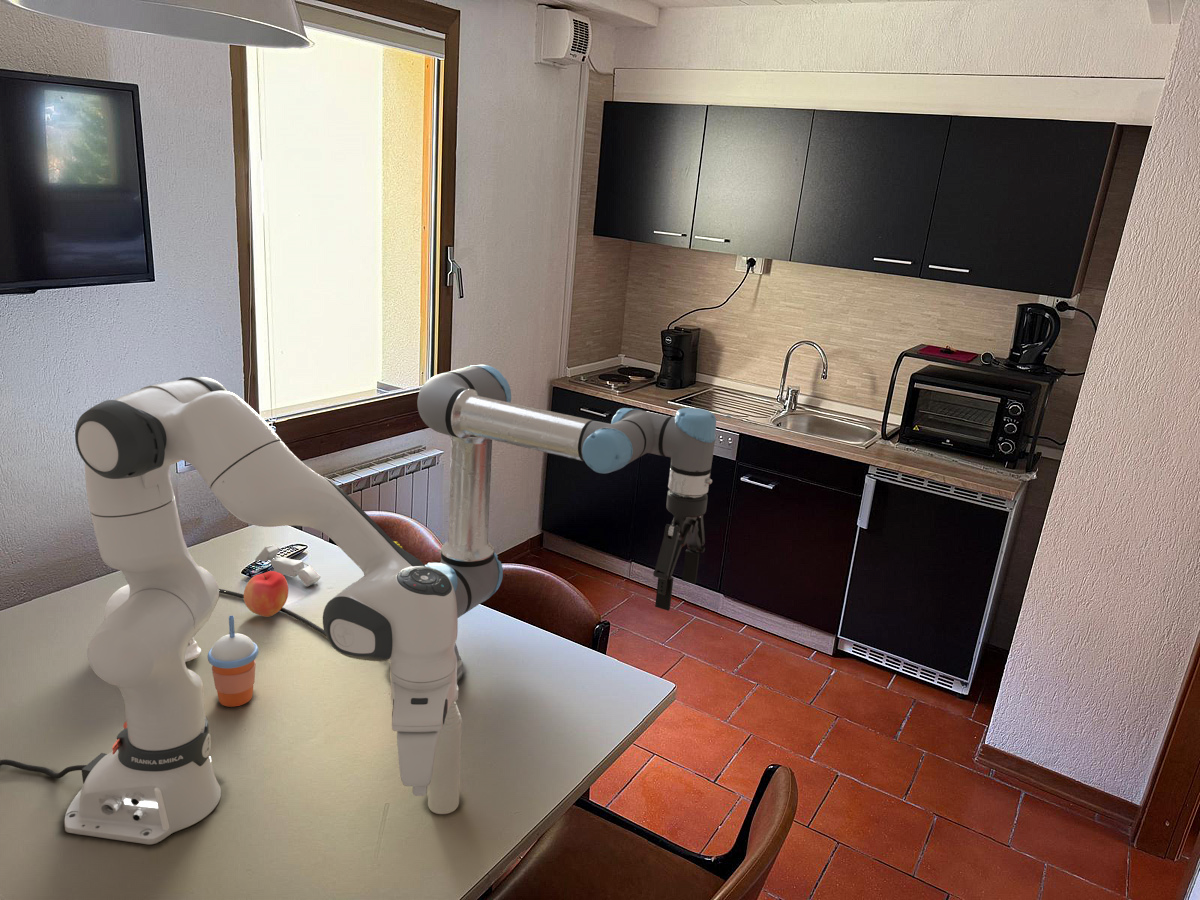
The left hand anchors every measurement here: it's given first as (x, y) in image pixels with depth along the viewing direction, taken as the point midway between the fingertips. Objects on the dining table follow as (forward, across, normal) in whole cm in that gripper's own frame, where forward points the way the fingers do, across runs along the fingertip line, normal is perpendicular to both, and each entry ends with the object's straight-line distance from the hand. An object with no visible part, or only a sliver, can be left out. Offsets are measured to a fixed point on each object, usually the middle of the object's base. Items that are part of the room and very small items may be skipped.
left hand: (423, 769), depth 120 cm
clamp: (+21, -104, -45) cm, 116 cm away
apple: (+22, -84, -45) cm, 97 cm away
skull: (+21, -67, -63) cm, 94 cm away
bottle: (+22, -20, +1) cm, 30 cm away
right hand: (-5, -44, +44) cm, 63 cm away
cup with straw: (+22, -50, -42) cm, 68 cm away
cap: (0, -20, +2) cm, 20 cm away
